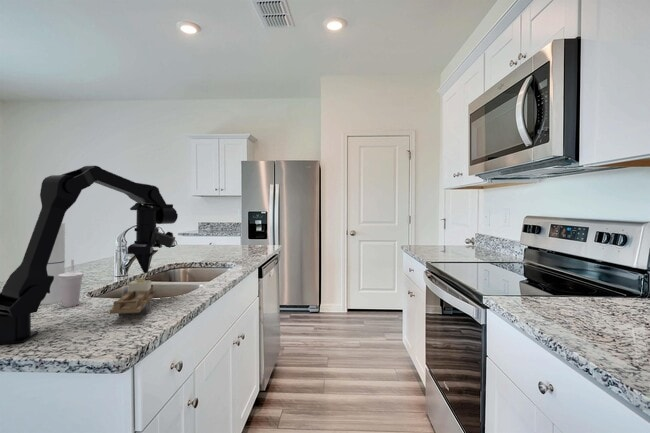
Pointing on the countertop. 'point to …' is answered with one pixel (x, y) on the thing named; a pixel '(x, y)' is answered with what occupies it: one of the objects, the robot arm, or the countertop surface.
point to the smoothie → (70, 286)
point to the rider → (139, 286)
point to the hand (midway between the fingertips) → (145, 272)
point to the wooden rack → (134, 303)
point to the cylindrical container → (56, 268)
